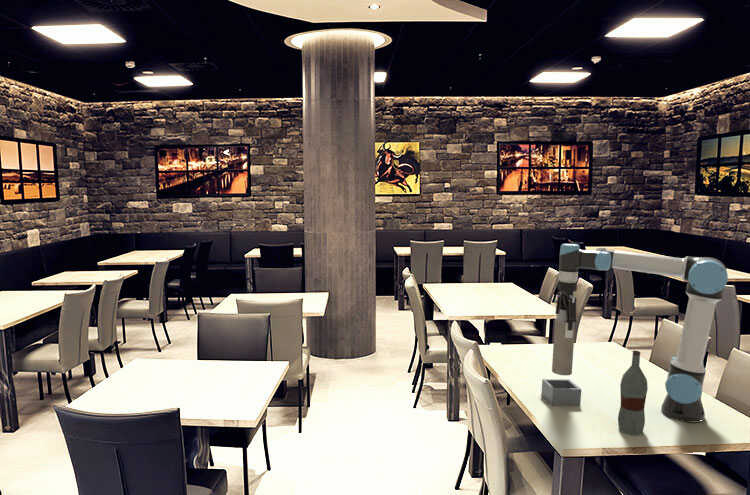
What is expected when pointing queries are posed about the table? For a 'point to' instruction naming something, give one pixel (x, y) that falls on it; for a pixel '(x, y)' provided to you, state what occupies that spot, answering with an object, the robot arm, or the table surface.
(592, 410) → the table surface
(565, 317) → the thermos bottle
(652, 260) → the robot arm
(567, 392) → the bin
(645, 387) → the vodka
